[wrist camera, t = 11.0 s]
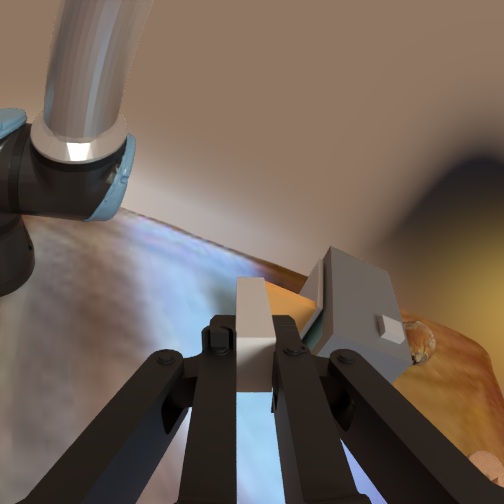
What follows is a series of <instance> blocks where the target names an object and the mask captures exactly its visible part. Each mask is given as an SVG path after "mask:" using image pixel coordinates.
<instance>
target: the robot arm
mask: <svg viewBox="0 0 504 504" xmlns="http://www.w3.org/2000/svg"><path fill="white" fill-rule="evenodd" d="M153 3H154V0H59V4H58V8H57V12H56V17H55V22H54V27H53V32H52V38H51V44H50V51H49V58H48V66H47V75H46V85H45V98H44V110H43V111H42V112H41V113H39V114H38V116H37V117H36V118H35V120H34V121H33V123H32V124H28V123H26V121H27V116H26V112H25V111H24V110H22V109H17V108H8V109H0V297H1V296H4V295H7V294H9V293H11V292H13V291H15V290H16V289H18V288H19V287H21V286H22V285H23V284H24V283H25V282H26V281H27V280H28V278H29V277H30V275H31V274H32V271H33V269H34V264H35V258H34V248H33V244H32V241H31V239H30V236H29V234H28V231H27V229H26V226H25V224H24V221H23V219H22V214H23V215H34V216H43V217H52V218H61V219H70V220H79V221H83V222H88V221H107V220H110V219H111V218H113V217H114V216H115V214H116V213H117V211H118V209H119V207H120V205H121V203H122V200H123V197H124V194H125V191H126V187H127V182H128V181H127V180H128V178H129V175H130V173H131V169H132V165H133V160H134V155H135V147H136V140H135V137H134V136H133V135H131V134H129V133H127V132H128V126H127V122H126V119H125V117H124V116H123V115H122V114H121V112H120V111H119V110H120V105H121V102H122V97H123V93H124V90H125V86H126V83H127V79H128V76H129V72H130V68H131V65H132V62H133V59H134V55H135V52H136V49H137V46H138V43H139V40H140V37H141V34H142V32H143V29H144V26H145V23H146V21H147V18H148V15H149V13H150V10H151V8H152V5H153ZM201 333H202V353H201V354H199V355H197V356H194V357H189V358H183V356H182V354H181V353H179V352H178V351H175V350H170V349H163V350H159V351H156V352H154V353H153V354H151V355H150V356H149V357H148V358H147V360H146V361H145V362H144V363H143V364H142V365H141V366H140V367H139V369H138V370H137V371H136V372H135V373H134V374H133V375H132V377H131V378H130V379H129V380H128V381H127V382H126V383H125V384H124V386H123V387H122V388H121V389H120V390H119V391H118V392H117V394H116V395H115V396H114V397H113V398H112V399H111V400H110V401H109V403H108V404H107V405H106V406H105V407H104V408H103V409H102V411H101V412H100V413H99V414H98V415H97V416H96V417H95V419H94V420H93V421H92V422H91V423H90V424H89V425H88V427H87V428H86V429H85V430H84V431H83V432H82V433H81V435H80V436H79V437H78V438H77V439H76V440H75V441H74V443H73V444H72V445H71V446H70V447H69V448H68V449H67V451H66V452H65V453H64V454H63V455H62V456H61V458H60V459H59V460H58V461H57V462H56V463H55V464H54V466H53V467H52V468H51V469H50V470H49V471H48V473H47V474H46V475H45V476H44V477H43V478H42V479H41V481H40V482H39V483H38V484H37V485H36V486H35V488H34V489H33V490H32V491H31V492H30V493H29V495H28V496H27V497H26V498H25V499H23V500H21V501H19V502H17V503H16V504H135V503H136V502H137V500H138V498H139V496H140V495H141V493H142V491H143V490H144V488H145V486H146V485H147V483H148V481H149V479H150V478H151V476H152V474H153V472H154V471H155V469H156V467H157V466H158V464H159V462H160V460H161V459H162V457H163V455H164V453H165V452H166V450H167V448H168V446H169V445H170V443H171V441H172V439H173V438H174V436H175V434H176V432H177V431H178V429H179V427H180V425H181V423H182V422H183V420H184V418H185V416H186V415H187V413H188V410H189V407H192V412H191V418H190V424H189V430H188V436H187V443H186V449H185V456H184V462H183V469H182V475H181V482H180V489H179V496H178V500H177V502H175V503H174V504H237V470H236V392H272V386H273V397H272V408H271V413H274V418H275V425H276V433H277V441H278V449H279V457H280V464H281V472H282V480H283V488H284V496H285V503H286V504H372V503H371V501H370V499H369V497H368V496H367V495H366V494H360V493H359V492H358V491H357V488H356V485H355V482H354V479H353V476H352V473H351V470H350V467H349V464H348V461H347V458H346V455H345V452H344V449H343V446H342V443H341V440H342V441H343V443H344V444H345V445H346V447H347V448H348V450H349V451H350V452H351V454H352V455H353V457H354V458H355V459H356V461H357V462H358V464H359V465H360V466H361V468H362V469H363V471H364V472H365V473H366V475H367V476H368V478H369V479H370V480H371V482H372V483H373V484H374V486H375V487H376V489H377V490H378V491H379V493H380V494H381V495H382V497H383V498H384V499H385V501H386V502H387V503H388V504H504V487H502V486H499V485H497V484H495V483H493V482H492V481H490V480H489V479H488V478H487V477H486V476H485V475H484V474H483V473H482V472H481V471H480V470H479V469H478V468H477V467H476V466H475V465H474V464H473V463H472V462H471V461H470V460H469V459H468V458H467V457H466V456H465V455H464V454H463V453H462V452H461V451H460V450H459V449H457V448H456V447H455V446H454V445H453V444H452V443H451V442H450V441H449V440H448V439H447V438H446V437H445V436H444V435H443V434H442V433H441V432H440V431H439V430H438V429H437V428H436V427H435V426H434V425H433V424H432V423H431V422H430V421H429V420H428V419H427V418H425V417H424V416H423V415H422V414H421V413H420V412H419V411H418V410H417V409H416V408H415V407H414V406H413V405H412V404H411V403H410V402H409V401H408V400H407V399H406V398H405V397H404V396H403V395H402V394H401V393H400V392H399V391H398V390H397V389H395V388H394V387H393V386H392V385H391V384H390V383H389V382H388V381H387V380H386V379H385V378H384V377H383V376H382V375H381V374H380V373H379V372H378V371H377V370H376V369H375V368H374V367H373V366H372V365H371V364H370V363H369V362H368V361H367V360H365V359H364V358H363V357H362V356H361V355H360V354H359V353H357V352H356V351H353V350H350V349H337V350H335V351H333V352H332V353H331V354H330V357H329V358H326V357H320V356H315V355H313V354H311V352H310V350H309V348H308V347H307V346H306V345H304V344H302V341H301V338H300V335H299V332H298V329H297V326H296V323H295V320H294V319H293V318H292V317H291V316H289V315H271V310H270V305H269V300H268V295H267V290H266V285H265V281H264V277H237V300H236V315H215V316H214V317H213V318H212V319H211V320H210V325H209V326H207V327H205V328H203V330H202V332H201ZM340 438H341V440H340Z"/></svg>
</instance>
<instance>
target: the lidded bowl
mask: <svg viewBox="0 0 504 504" xmlns="http://www.w3.org/2000/svg"><path fill="white" fill-rule="evenodd" d="M467 458H468V459H469V460H470V461H471V462H472V463H473V464H474V465H475V466H476V467H477V468H478V469H479V470H480V471H481V472H482V473H483V474H484V475H485V476H486V477H487V478H488V479H489V480H490V481H492V482H493V483H495V484H497V485H499V486H502V487H504V468H503V466H502V464H501V463H500V461H499V460H498V459H497V458H496V457H495V456H494V455H493V454H491V453H489V452H487V451H483V450H482V451H475V452H473V453H472V454H470V455H469V456H467Z"/></svg>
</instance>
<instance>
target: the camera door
mask: <svg viewBox="0 0 504 504" xmlns="http://www.w3.org/2000/svg"><path fill="white" fill-rule="evenodd" d="M264 281H265V280H264ZM265 285H266V290H267V295H268V300H269V305H270V310H271V315H289V316H291V317H292V318H293V319H294V320H295V323H296V326H297V329H298V332H299V335H300V338H301V340H302V338H303V337H304V335H305V334H306V333H307V331H308V330H309V328H310V327H311V325H312V324H313V322H314V321H315V319H316V318H317V317H318V315H319V314H320V312H321V311H322V309H323V260H321V259H319V260H318V261H317V263H316V265H315V267H314V269H313V270H312V272H311V274H310V276H309V277H308V279H307V281H306V282H305V284H304V286H303V288H302V289H301V291H300V293H299V294H296V293H293V292H291V291H289V290H286V289H284V288H281V287H279V286H277V285H274V284H272V283H269V282H267V281H265Z"/></svg>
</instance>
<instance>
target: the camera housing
mask: <svg viewBox="0 0 504 504" xmlns="http://www.w3.org/2000/svg"><path fill="white" fill-rule="evenodd" d="M301 341H302V344H304V345H306V346H307V347H308V348H309V350H310V352H311V354H313V355H315V356H320V357H326V358H329V357H330V354H331V353H332V352H333V351H335V350H337V349H350V350H353V351H356V352H357V353H359V354H360V355H361V356H362V357H363V358H364V359H365V360H367V361H368V362H369V363H370V364H371V365H372V366H373V367H374V368H375V369H376V370H377V371H378V372H379V373H380V374H381V375H382V376H383V377H384V378H385V379H386V380H387V381H388V382H389V383H390V384H392V383H393V382H394V381H395V380H396V379H397V378H398V377H399V376H400V375H401V374H402V373H403V372H404V371H405V370H406V369H407V368H408V367H409V366H410V365H411V364H412V363H413V362H412V357H411V353H410V349H409V345H408V341H407V337H406V333H405V329H404V325H403V321H402V318H401V314H400V310H399V307H398V303H397V300H396V296H395V293H394V290H393V286H392V283H391V280H390V277H389V274H388V272H386V271H384V270H382V269H380V268H378V267H375V266H373V265H371V264H369V263H367V262H364V261H362V260H360V259H358V258H356V257H354V256H352V255H350V254H347V253H345V252H343V251H341V250H339V249H337V248H334V247H332V246H330V248H329V250H328V251H327V253H326V255H325V257H324V258H323V309H322V311H321V312H320V314H319V315H318V317H317V318H316V319H315V321H314V322H313V324H312V325H311V327H310V328H309V330H308V331H307V333H306V334H305V335H304V337H303V338H302V340H301Z"/></svg>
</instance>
